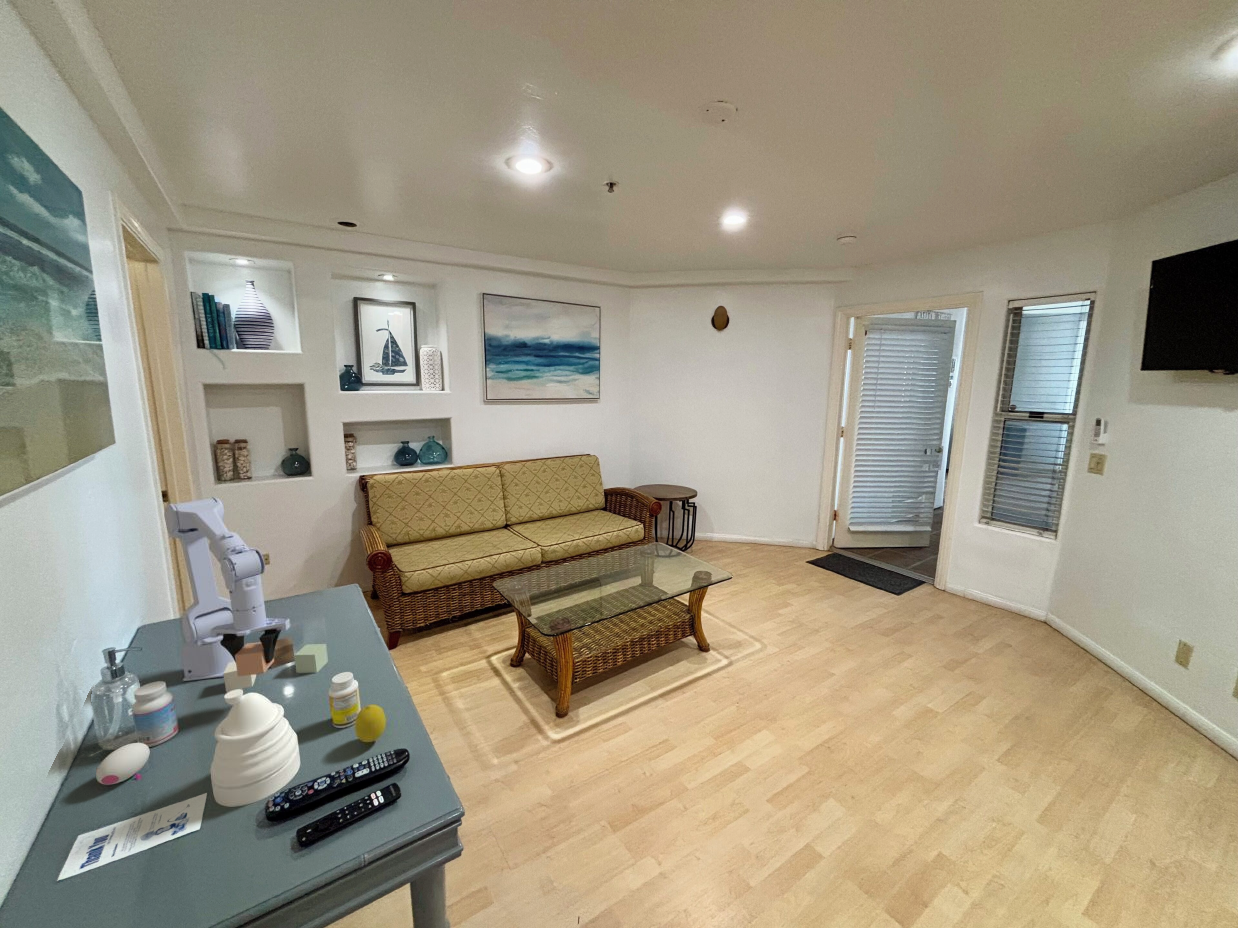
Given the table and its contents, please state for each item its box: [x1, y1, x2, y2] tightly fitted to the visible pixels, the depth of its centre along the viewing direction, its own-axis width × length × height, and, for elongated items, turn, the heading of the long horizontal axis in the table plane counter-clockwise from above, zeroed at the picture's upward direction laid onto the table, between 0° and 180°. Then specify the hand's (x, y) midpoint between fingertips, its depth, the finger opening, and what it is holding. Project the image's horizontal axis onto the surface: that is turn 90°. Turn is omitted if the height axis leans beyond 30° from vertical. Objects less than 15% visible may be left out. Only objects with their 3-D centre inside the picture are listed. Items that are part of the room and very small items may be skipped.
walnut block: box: [270, 636, 295, 669], centre depth 126 cm, size 5×5×5 cm
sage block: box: [294, 643, 329, 674], centre depth 124 cm, size 5×5×5 cm
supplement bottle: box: [328, 671, 362, 729], centre depth 103 cm, size 6×6×10 cm
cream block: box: [223, 662, 257, 694], centre depth 117 cm, size 5×5×5 cm
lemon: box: [354, 704, 387, 743], centre depth 97 cm, size 6×6×8 cm
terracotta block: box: [235, 641, 274, 676], centre depth 108 cm, size 5×5×5 cm
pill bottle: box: [131, 680, 179, 748], centre depth 98 cm, size 6×6×11 cm
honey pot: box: [209, 689, 301, 808], centre depth 88 cm, size 13×13×18 cm
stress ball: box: [95, 742, 151, 786], centre depth 89 cm, size 8×8×7 cm
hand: (255, 662), depth 109 cm, fingers closed on terracotta block, 5 cm apart
